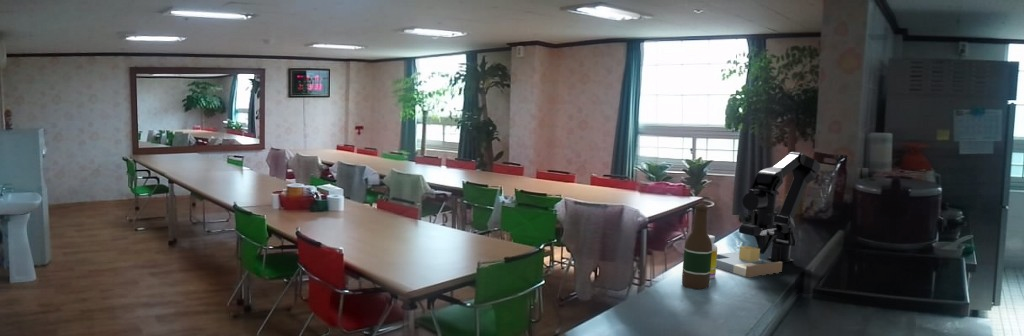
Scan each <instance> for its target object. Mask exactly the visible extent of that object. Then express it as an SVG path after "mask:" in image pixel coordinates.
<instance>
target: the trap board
mask: <svg viewBox="0 0 1024 336" xmlns="http://www.w3.org/2000/svg"><path fill="white" fill-rule="evenodd" d="M783 264H784V263H783V262H778V261H774V262H773V261H772V262H771V261H769V260H765V259H761V258H759V261H751V262H749V261H746V260H743V259H739V252H737V251H735V252H733V251H732V252H723V253H717V261H716V269H721V270H723V271H727V272H730V273H734V274H737V275H738V276H739V275H740V276H742V277H746V278H753V277H754V276H755V277H758V276H757V275H762V276H767V275H766V274H769V275H774V274H773V273H776V274H780V273H779V272H782V271H783ZM782 273H783V272H782Z"/></svg>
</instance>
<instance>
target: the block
mask: <svg viewBox="0 0 1024 336" xmlns="http://www.w3.org/2000/svg"><path fill="white" fill-rule="evenodd" d="M738 253H739V259H743V260H746V261H749V262H751V261H759V259H760V255H761V254H760V249H759V248H758V247H755V246H751V245H746V246H745V245H742V246H739V252H738Z"/></svg>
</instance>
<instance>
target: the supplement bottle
mask: <svg viewBox="0 0 1024 336" xmlns="http://www.w3.org/2000/svg"><path fill="white" fill-rule="evenodd" d="M708 236H709V238H710V240H711V243H712V257H711V269H710V279H711V280H712V279H714V278H716V273H717V267H716V261H717V254H718V246H717V245H716V244H715V240H716V237H715V235H711V234H708Z"/></svg>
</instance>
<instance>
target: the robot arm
mask: <svg viewBox="0 0 1024 336" xmlns="http://www.w3.org/2000/svg"><path fill="white" fill-rule="evenodd" d="M820 169H821V165H820V163H819V162H818V160H817V159H814V158H812V157H810V156H808V155H806V154H805V153H803V152H799V151H798V152H796V151H791V152H790V151H789V152H788V154H787V155H786V156H785V157H784V158H782V159H781V160H780V161H779V162H777V163H776V164H775V165H773V166H771V167H766V168H763V169H762V170H759V171H758V173H757V174H756V175H755V178H754V180H753V182H752V183H751V186H750V188H749V190H748V193H746V194H745V195H744V196H743V198H742V205H743V207H744V209H746V210H747V211H753V212H752V214H747V213H746V212H742V213H739V214H738V215H739V216H738V222H739V223H740V224H741V225H739V227H738V233H740V234H744V235H748V236H753V237H754V238H755V241H756V243H757V248H759V249H760V255H764V254H765V253H766V251H767V250H768V248H769V247H770V245H771V251H770V256H767V257H766V259H768V260H771V261H774V262H783V263H782V264H784V263H791V262H790V261H792V262H795V259H792V258H791V255H792V253H791V252H792V246H793V247H796V246H797V244H798V241H799V239H798V236H797V233H796V232H795V229H796V225H795V221H794V219H795V216H796V213H797V211H798V209H799V206H800V203H801V201H802V198H803V196H804V193H805V190H806V187H807V186H808V184H810V183H811V182H812V181H813V180H815V178H816V177H817V175H818V174H819V172H820ZM790 173H792V178H793V180H792V181H791V184H790V186H789V189H788V191H787V194H786V196H785V198H784V201H783V202H782V203H783V204H782V207H781V209H780V211H779V213H778V212H777V211H776V202H777V201H776V200H777V196H778V195H780V192H779V191H778V189H779V188H780V187H781V186H782V184H783V183H784V178H785V177H787V175H789V174H790Z"/></svg>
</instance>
